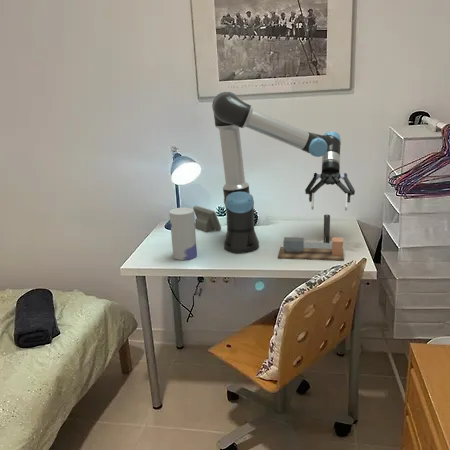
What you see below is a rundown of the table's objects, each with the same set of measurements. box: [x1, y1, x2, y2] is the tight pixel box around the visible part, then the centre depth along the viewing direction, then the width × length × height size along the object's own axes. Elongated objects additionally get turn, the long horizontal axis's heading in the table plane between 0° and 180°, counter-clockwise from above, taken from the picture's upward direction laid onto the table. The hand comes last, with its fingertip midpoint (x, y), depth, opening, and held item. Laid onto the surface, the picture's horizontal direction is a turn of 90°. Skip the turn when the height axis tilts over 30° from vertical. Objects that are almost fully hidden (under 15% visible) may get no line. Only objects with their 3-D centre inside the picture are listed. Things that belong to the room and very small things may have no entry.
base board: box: [277, 246, 345, 262], centre depth 206 cm, size 26×11×1 cm, turn 78°
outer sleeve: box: [282, 236, 305, 254], centre depth 207 cm, size 8×4×6 cm, turn 78°
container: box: [169, 206, 198, 261], centre depth 209 cm, size 10×10×20 cm
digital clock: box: [192, 205, 222, 233], centre depth 243 cm, size 16×9×11 cm, turn 28°
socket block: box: [331, 236, 344, 256], centre depth 203 cm, size 4×5×6 cm
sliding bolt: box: [303, 214, 332, 249], centre depth 203 cm, size 17×2×14 cm, turn 78°
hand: (329, 208), depth 207 cm, fingers open, 13 cm apart
